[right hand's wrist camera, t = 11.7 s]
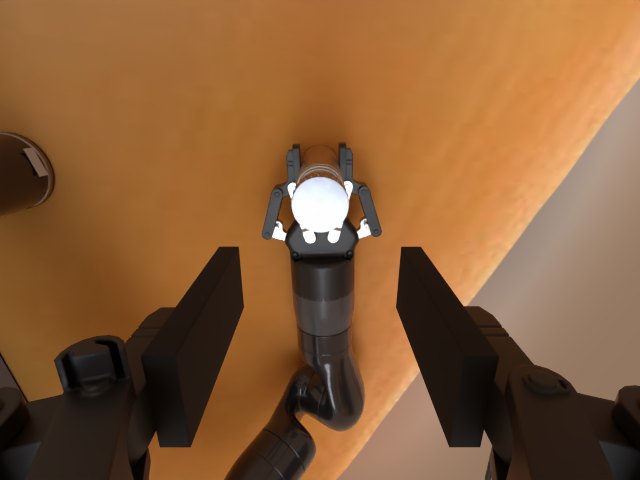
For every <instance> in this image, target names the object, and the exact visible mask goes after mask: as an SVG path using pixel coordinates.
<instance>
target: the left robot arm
mask: <svg viewBox="0 0 640 480" xmlns="http://www.w3.org/2000/svg"><path fill="white" fill-rule="evenodd" d="M339 167H340V170H341V173H342V177H343V180H344V183H345V187H346V190H347V193H348V196H349V198H348V199H350V195H351V193H353V194H356V195H358V196H359V199H360V202H361V205H362V208H363V211H364V215H365V216H364V217H362V218H361V219H360V226H359V228H357V229H356V228H355V227H354V226H353V225H352V223H351V222H350V221H349V219H348V218H347V217H346V218H345V220H344V221H343V222H342V224H341V225H339V226H338V227H337V228H335V229H333V230H331V231H328V232H323V233H317V232H312V231H309V230H307V229H305V228H303V227H302V226H301V225H300V224H299V223H298V222H297V221H296V219H295V221H294V222H293V224H292V225H291V226H290V228H289V229H288V231H286V230H284V228H283V222H282V221H281V220H280V219H278V215H279V211H280V207H281V203H282V199H283V197H285V196H288V195H290V197H291V199H292V196H293V195H292V194H293V190H295V185H296V180H297V177H298V174H299V171H300V168H301V152H300V144H293V150H289V151H288V153H287V171H288V181H287V182H285V183H283V184H278V185H276V186H275V187H274V190H273V191H272V193H271V198H270V202H269V206H268V210H267V214H266V219H265V223H264V227H263V231H262V237H263V238H264V239H266V240H269V239H271V238H276V239H280V240H284V241H285V243H286V245H287V246H288V248H289V250H290V257H291V272H292V288H293V303H294V311H295V315H296V320H297V334H298V348H299V353H300V356H301V358H302V360H303V361H304V362H305V363H304V364H302V365H301V366H299V367H298V368H297V369H296V371H295V372H294V373H293V375H292V377H291V379H290V381H289V383H288V385H287V387H286V389H285V392H284V394H283V396H282V398H281V400H280V401H279V403H278V405H277V407H276V409H275V411H274V413H273V415H272V417H271V418H270V420H269V422H268V423H267V425H266V426H265V427H264V428H263V429H262V430H261V432H260V433H259V434H258V435H257V436H256V437H255V439H254V440H253V441H252V442H251V443H250V445H249V446H248V447H247V448H246V449H245V450H244V452H243V453H242V454H241V455H240V456H239V458H238V459H237V460H236V462H235V463H234V464H233V466H232V467H231V469H230V470H229V472H228V474H227V475H226V477H225V479H224V480H300V478H301V477H302V475H303V474H304V472H305V471H306V469H307V468H308V467H309V465H310V464H311V462H312V460H313V458H314V456H315V453H316V445H315V442H314V439H313V438H312V436H311V435H310V433H309V432H308V431H307V429H306V428H305V427H304V426H303V425H302V424H301V423H300V421H301V418H302V417H303V416H304V415H305V414H308V415H309V416H311V417H313V418H314V419H316V420H317V421H319V422H321V423H322V424H324V425H325V426H327V427H329V428H331V429H333V430H336V431H346V430H348V429H350V428H352V427H353V426H354V425H355V424H356V423H357V422H358V421H359V419H360V417H361V415H362V412H363V409H364V403H365V390H364V384H363V379H362V376H361V373H360V369H359V366H358V363H357V360H356V356H355V353H354V350H353V348H352V315H353V309H354V250H355V246H356V245H357V243H358V241H359V239H360V238H363V237H366V236H369V235H372V236H374V237H378V236H380V235H381V232H382V231H381V227H380V224H379V221H378V217H377V214H376V211H375V207H374V204H373V201H372V197H371V194H370V191H369V189H368V187H367V185H366V184H365V183H364V182H358V181H356V180H354V179H353V154H352V151H351V149H350V148H346V143H339ZM53 185H54V176H53V171H52V168H51V165H50V163H49V161H48V159H47V157H46V156H45V155H44V153H43V152H42V151H41V150H40V149H39V148H38V147H37V146H36V145H35V144H34V143H32V142H31V141H30V140H28V139H26V138H24V137H22V136H20V135H17V134H14V133H8V132H0V217H2V216H5V215H8V214H11V213H14V212H17V211H20V210H23V209H27V208H31V207H34V206H37V205H39V204H41V203H43V202H44V201H45V200H46V199H47V198H48V197H49V196H50V194H51V192H52V190H53Z"/></svg>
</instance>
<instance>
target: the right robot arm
mask: <svg viewBox="0 0 640 480" xmlns="http://www.w3.org/2000/svg"><path fill="white" fill-rule="evenodd" d="M243 308H244V304H243V292H242V280H241V269H240V257H239V247H219V248H218V249H217V251H216V252H215V254H214V255H213V256H212V258H211V259H210V260H209V262H208V263H207V265H206V266H205V267H204V269H203V270H202V272H201V273H200V274H199V276H198V277H197V279H196V280H195V281H194V283H193V284H192V285H191V287H190V288H189V290H188V291H187V292H186V294H185V295H184V297H183V298H182V299H181V301H180V302H179V303H178V305H177V306H176V308H160V309H158V310H157V311H155V312H153V313H152V314H150V315H149V316H147V317H146V319H145V320H144V321H143V322H142V323H141V325H140V326H139V329H137V330H136V331H135V332H134V333H133V334H132V336H131V338H129V339H128V340H127V342H126V343H125V344H124V341H123V340H122V339H120V338H119V337H116V336H110V335H106V336H96V337H92V338H88V339H84V340H82V341H80V342H78V343H75V344H73V345H71V346H69V347H68V348H67V349H65V350H64V351H62V352H61V353H60V354H59V355H58V356H57V357H56V359H55V360H54V362H55V365H56V368H57V371H58V374H59V378H60V381H61V384H62V387H63V390H64V392H63V394H62V395H58V396H54V397H50V398H45V399H41V400H36V401H32V402H27V403H26V402H25V400H24V397H23V394H22V392H21V391H19V390H18V389H17V388H11V387H2V388H0V480H149V471H150V462H151V460H150V453H149V449H148V446H149V444H150V442H151V440H152V438H153V436H154V434H155V432H156V431H157V436H158V441H159V445H160V447H191V445H192V442H193V439H194V437H195V434H196V432H197V429H198V426H199V424H200V421H201V418H202V416H203V413H204V411H205V408H206V405H207V403H208V400H209V397H210V395H211V392H212V390H213V387H214V384H215V382H216V379H217V376H218V374H219V371H220V369H221V366H222V363H223V361H224V358H225V355H226V353H227V350H228V348H229V345H230V342H231V340H232V337H233V334H234V332H235V329H236V327H237V324H238V321H239V319H240V316H241V313H242V311H243ZM396 308H397V311H398V313H399V316H400V319H401V321H402V324H403V327H404V329H405V332H406V334H407V337H408V340H409V342H410V345H411V348H412V350H413V353H414V355H415V358H416V361H417V363H418V366H419V369H420V371H421V374H422V376H423V379H424V382H425V384H426V387H427V390H428V392H429V395H430V397H431V400H432V403H433V405H434V408H435V411H436V413H437V416H438V418H439V421H440V424H441V426H442V429H443V432H444V434H445V437H446V440H447V442H448V445H449V447H480V445H481V440H482V436H483V431H484V430H485V432H486V434H487V436H488V438H489V440H490V442H491V444H492V449H491V453H490V458H489V462H488V466H487V471H486V475H485V480H491V479H492V480H640V386H636V385H634V386H625V387H623V388H622V389H620V390H619V392H618V394H617V397H616V400H615V401H611V400H606V399H602V398H598V397H593V396H589V395H584V394H580V393H577V392H576V390H575V389H574V387H573V386H572V385H571V383H570V382H569V381H567V380H566V379H565V378H563V377H562V376H561V375H559V374H557V373H555V372H553V371H551V370H549V369H547V368H544V367H540V366H537V365H534V364H533V363H532V362H531V361H530V359H529V358H528V357H527V356H526V354H525V353H524V352H523V351H522V350H521V349H520V347H519V346H518V345H517V344H516V342H515V341H514V340H513V339H512V338H511V337H509V334H508V333H507V332H506V330H505V329H504V328H502V326H501V324H500V323H499V322H498V321H497V320H496V318H495V317H494V316H493V315H492V314H490V313H489V312H487V311H485V310H484V309H482V308H481V307H479V306H463V305H462V303H461V302H460V301H459V299H458V298H457V297H456V295H455V294H454V292H453V291H452V290H451V288H450V287H449V285H448V284H447V283H446V281H445V280H444V279H443V277H442V276H441V274H440V273H439V272H438V270H437V269H436V267H435V266H434V265H433V263H432V262H431V260H430V259H429V258H428V256H427V255H426V254H425V252H424V251H423V249H422V248H421V247H401V257H400V269H399V280H398V292H397V304H396Z"/></svg>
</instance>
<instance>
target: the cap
mask: <svg viewBox="0 0 640 480" xmlns="http://www.w3.org/2000/svg"><path fill="white" fill-rule="evenodd" d="M292 195H293V196H292V199H291V208H292V213H293V215H294V217H295V219H296V221H297V222H298V223H299V224H300V225H301V226H302V227H303V228H305V229H307V230H309V231H312V232H317V233H323V232H328V231H331V230H333V229H335V228H337V227H338V226H339V225H341V224H342V222H343V221H344V220H345V218H346V216H347V214H348V211H349V204H350V203H349V199H348V198H349V196H348V193H347V190H346V187H344V185H343V183H342V181H340V180H339V179H338V177H335V176H334V175H332V174H329V173H326V172H319V171H318V172H315V173H311V174H309V175H305V177H304V178H302V179H300V181H299V183H298V184H296V187H295V190H293V194H292Z"/></svg>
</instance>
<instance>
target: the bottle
mask: <svg viewBox="0 0 640 480" xmlns="http://www.w3.org/2000/svg"><path fill="white" fill-rule="evenodd" d="M318 171H319V172H326V173H329V174H332V175H334V176H335V177H338V179H339V180H340V181H342V183H343V185H344V187H345V183H344V180H343V177H342V173H341V170H340V167H339V164H338V161H337V158H336V155H335V153H334V152H333V150H332V149H331V148H329V147H327V146H325V145H315V146H313V147H311V148H309V149H308V150H307V152H306V153H305V155H304V158H303V162H302V165H301V168H300V171H299V174H298V177H297V180H296V184H298V183H299V181H300V179H302V178H304V177H305V175H309V174H311V173H315V172H318ZM295 187H296V185H295Z"/></svg>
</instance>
